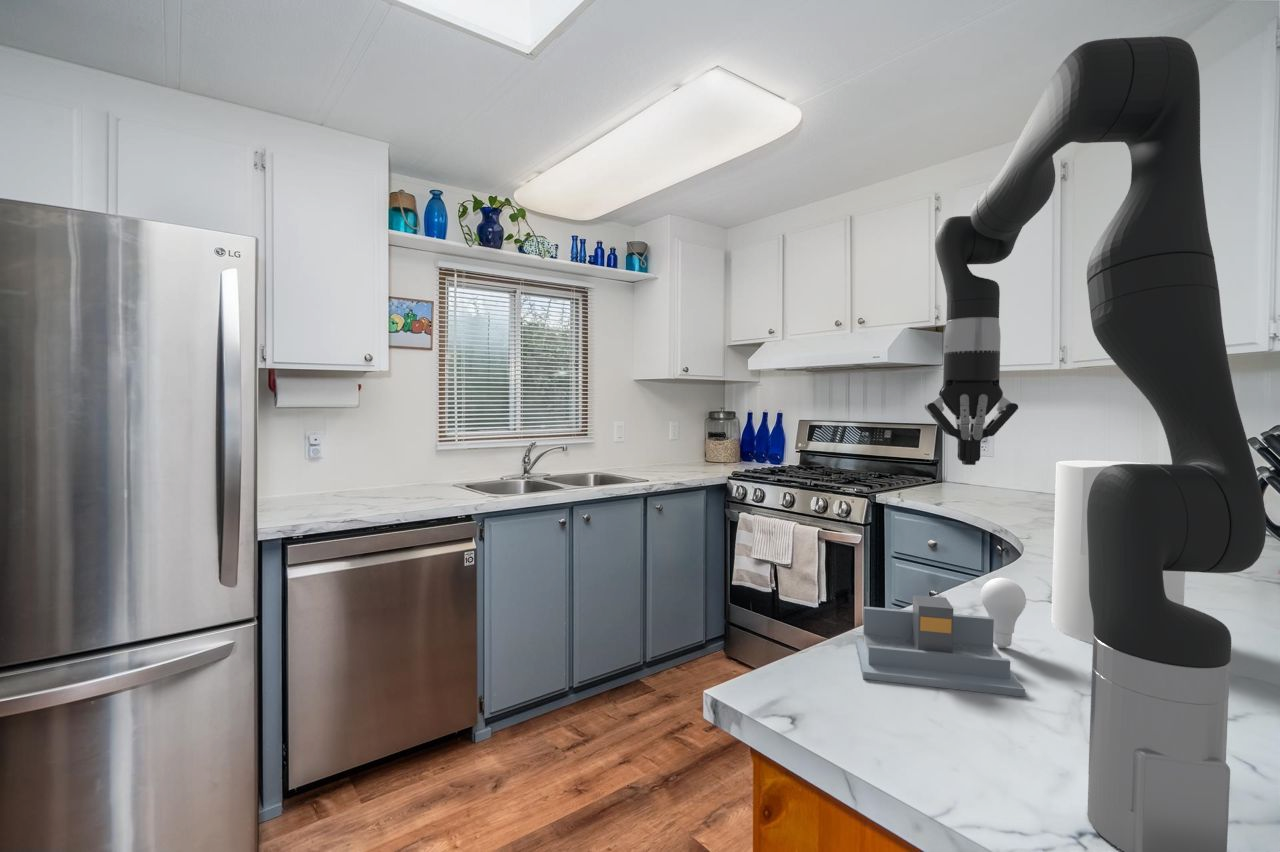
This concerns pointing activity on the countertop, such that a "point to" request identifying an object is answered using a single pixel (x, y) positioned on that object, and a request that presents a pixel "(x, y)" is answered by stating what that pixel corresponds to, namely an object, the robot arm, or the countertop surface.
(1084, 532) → the cylinder
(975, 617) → the grey stepped stand
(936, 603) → the block
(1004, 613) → the lightbulb
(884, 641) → the plate
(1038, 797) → the countertop surface
